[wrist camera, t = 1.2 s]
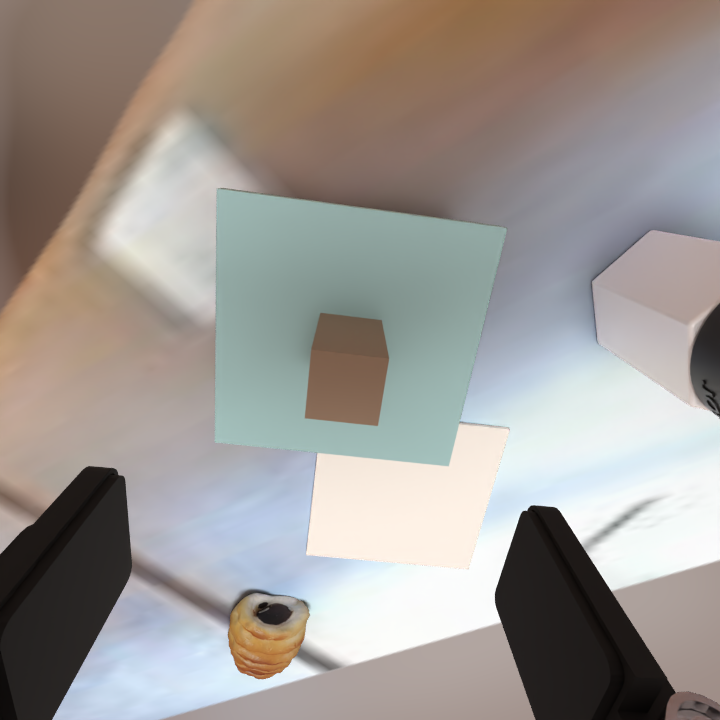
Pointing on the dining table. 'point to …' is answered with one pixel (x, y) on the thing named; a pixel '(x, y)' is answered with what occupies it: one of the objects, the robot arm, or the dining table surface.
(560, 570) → the robot arm
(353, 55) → the dining table surface
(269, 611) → the pastry
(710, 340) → the jar
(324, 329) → the lid
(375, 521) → the mat
